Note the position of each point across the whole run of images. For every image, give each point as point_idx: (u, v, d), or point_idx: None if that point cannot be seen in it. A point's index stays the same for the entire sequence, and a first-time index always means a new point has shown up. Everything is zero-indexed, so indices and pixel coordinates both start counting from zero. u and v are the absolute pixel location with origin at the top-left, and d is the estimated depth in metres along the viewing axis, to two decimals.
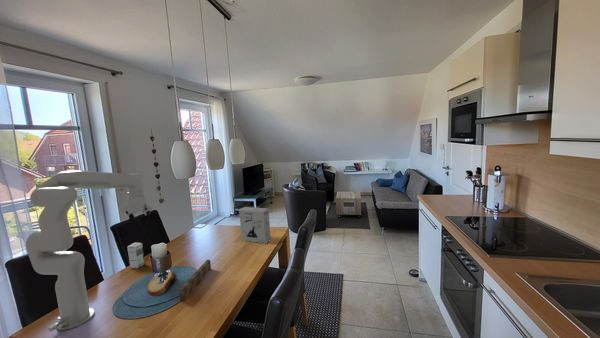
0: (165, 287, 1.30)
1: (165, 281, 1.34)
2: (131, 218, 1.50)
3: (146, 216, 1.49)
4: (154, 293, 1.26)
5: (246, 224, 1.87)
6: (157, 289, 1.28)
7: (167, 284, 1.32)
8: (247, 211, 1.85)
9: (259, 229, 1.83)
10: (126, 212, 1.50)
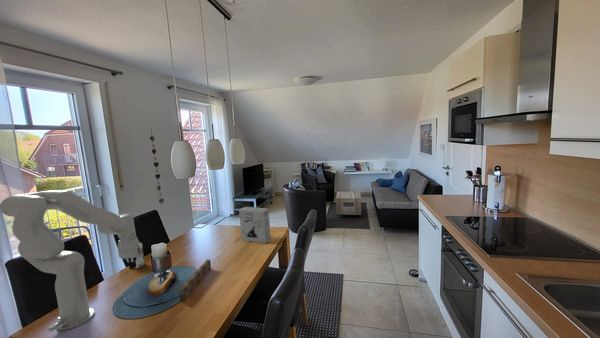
0: (165, 287, 1.30)
1: (165, 281, 1.34)
2: None
3: (132, 263, 1.36)
4: (154, 293, 1.26)
5: (246, 224, 1.87)
6: (157, 289, 1.28)
7: (167, 284, 1.32)
8: (247, 211, 1.85)
9: (259, 229, 1.83)
10: (125, 258, 1.36)
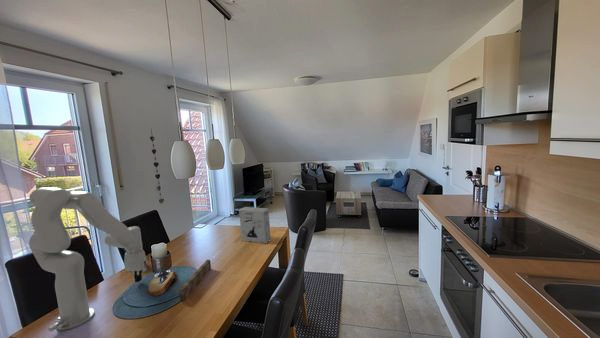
0: (165, 287, 1.30)
1: (165, 281, 1.34)
2: None
3: (138, 276, 1.36)
4: (153, 293, 1.26)
5: (246, 224, 1.87)
6: (157, 289, 1.28)
7: (167, 284, 1.32)
8: (247, 211, 1.85)
9: (259, 229, 1.83)
10: (131, 271, 1.36)
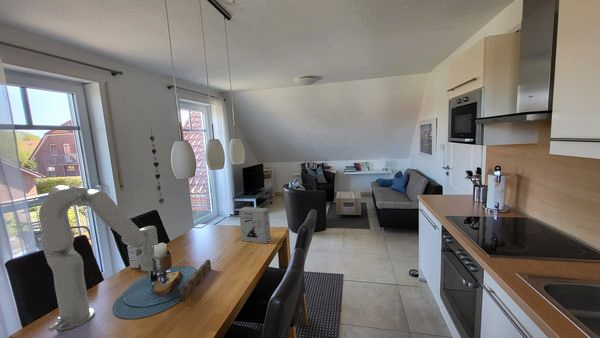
0: (170, 287, 1.30)
1: (170, 281, 1.34)
2: None
3: (154, 276, 1.35)
4: (158, 293, 1.26)
5: (246, 224, 1.87)
6: (162, 289, 1.28)
7: (172, 284, 1.32)
8: (247, 211, 1.85)
9: (259, 229, 1.83)
10: (147, 271, 1.35)
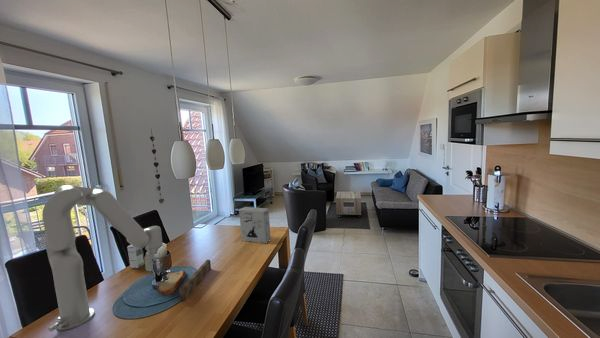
0: (175, 287, 1.30)
1: (175, 280, 1.34)
2: None
3: (159, 276, 1.35)
4: (164, 292, 1.26)
5: (246, 224, 1.87)
6: (167, 288, 1.28)
7: (177, 284, 1.32)
8: (247, 211, 1.85)
9: (259, 229, 1.83)
10: (152, 271, 1.35)
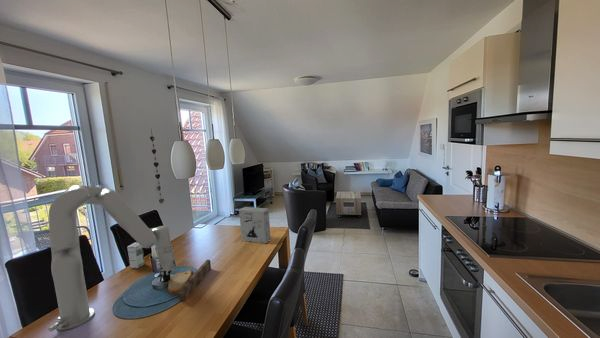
0: None
1: (185, 280, 1.34)
2: None
3: (167, 276, 1.35)
4: (174, 292, 1.26)
5: (246, 224, 1.87)
6: (177, 288, 1.28)
7: None
8: (247, 211, 1.85)
9: (259, 229, 1.83)
10: None
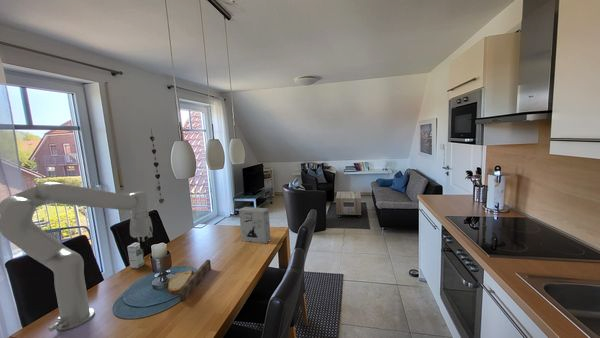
0: None
1: (185, 280, 1.34)
2: None
3: (143, 242, 1.33)
4: (174, 292, 1.26)
5: (246, 224, 1.87)
6: (177, 288, 1.28)
7: None
8: (247, 211, 1.85)
9: (259, 229, 1.83)
10: (136, 237, 1.33)
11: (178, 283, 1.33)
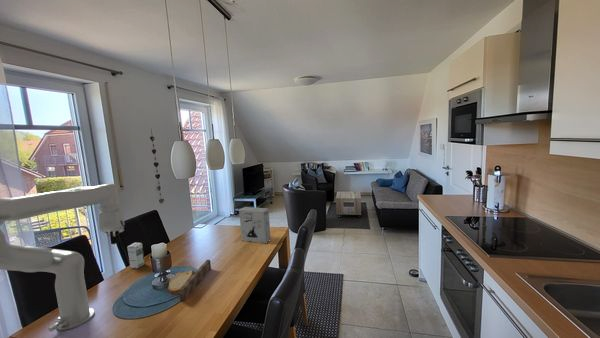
0: None
1: (185, 280, 1.34)
2: None
3: (114, 237, 1.25)
4: (174, 292, 1.26)
5: (246, 224, 1.87)
6: (177, 288, 1.28)
7: None
8: (247, 211, 1.85)
9: (259, 229, 1.83)
10: (107, 232, 1.25)
11: (178, 283, 1.33)
